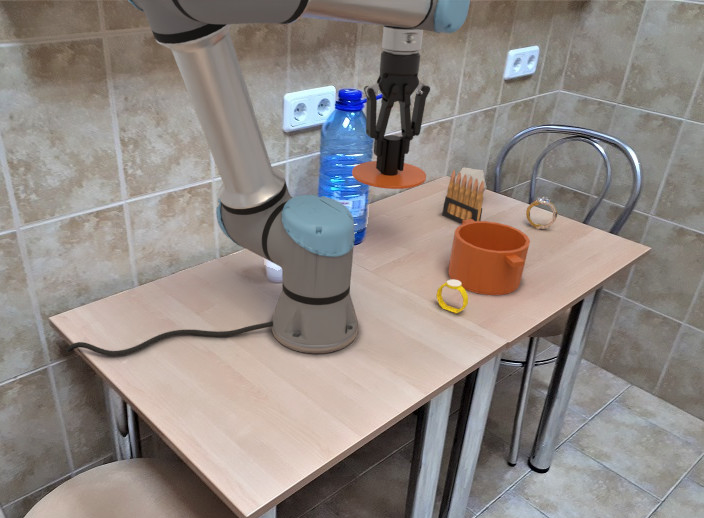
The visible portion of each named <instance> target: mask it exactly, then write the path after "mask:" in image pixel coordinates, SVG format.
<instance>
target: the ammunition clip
mask: <svg viewBox="0 0 704 518" xmlns="http://www.w3.org/2000/svg"><path fill="white" fill-rule="evenodd" d="M457 175H458V176H457ZM457 175H456V170H455V169H453V170H452V172H451V174H450V177H449V178H450V179H449V184H448V187H447V191H446V196H444V197H445V198H444V202H443V208H442V213H441V215H442V216H443V217H445V218H448V219H450V220H452V221H455V222H457V223H459V224H460V225H462V220H468V219H473V220H474V221H482V213H483V201H484V192H485V191H484V181H482V182H481V184H480V186H479V190H478V179H476V180H475V182H474V185H473V189H472V176H471V177H470V178H469V181H468V184H467V176H466V174H465V175H464V177H463V179H462V183H461V173H460V171H459V172H458V173H457ZM456 176H457V179H456V183H455V178H456ZM466 184H467V188H466ZM460 185H461V188H460ZM477 191H478V194H477ZM483 191H484V192H483Z"/></svg>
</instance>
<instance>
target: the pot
mask: <svg viewBox="0 0 704 518" xmlns="http://www.w3.org/2000/svg"><path fill="white" fill-rule="evenodd" d="M530 244H531V240H530V238H529V236H528V235H527V234H526V233H524V232H523V231H522V230H520V229H518V228H516V227H513V226H511V225H508V224H505V223H500V222H496V221H487V220H481V221H474V220H473V219H468V220H462V224H460V225H458V226H457V227H456V228H455V230H454V235H453V239H452V246H451V252H450V259H449V264H448V268H447V269H448V270H447V271H448V278H449V280H451V279H454V280H458V281H460V282H461V283H462V284H461V286H462V287H463V288H464V289H465V290H466V291H469V292H472V293H476V294H480V295H486V296H503V295H508V294H511V293H513V292H515V291H516V290H518V288H519V287H520V284H521V281H522V277H523V273H524V268H525V264H526V260H527V256H528V251H529V248H530Z"/></svg>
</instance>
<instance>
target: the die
mask: <svg viewBox="0 0 704 518" xmlns="http://www.w3.org/2000/svg"><path fill="white" fill-rule="evenodd" d="M459 172H460V173H461V183H462V179H463V177H464V175H465V174H466V176H467V184H468V181H469V178H470V177H471V176H472V189H473V185H474V182H475V180H476V179H478V190H479V186H480V184H481V182H482V181H484V191H483V193H485V191H486V190H487V183H486V179H485V173H484V170H482V169H478V168H477V169H476V168H470V167H464V166H463V167H462V168H461V170H460V171H459ZM457 176H458V174H457V175H455V183H456V179H457ZM467 184H466V188H467ZM460 188H461V185H460ZM477 194H478V191H477Z"/></svg>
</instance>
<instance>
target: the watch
mask: <svg viewBox="0 0 704 518" xmlns="http://www.w3.org/2000/svg"><path fill="white" fill-rule="evenodd" d="M461 284H462V283H461V282H460V281H458V280H454V279H448V280H446V282H444V283H443V284H440V286H439V287H438V288H437V291H436V300H437V303H438V305H439V306H440V308H441V309H443V310H445V311H449V312H450V313H454V314H458V313H460V312H462V311H464V310H465V309H466V308H467V306H468V304H469V295H468V292H467V290H466V289H464V288H463V287H462V286H461ZM444 287H447V288H448V289H451V290H457V291H458V292H459V293H460V295H461V297H462V306H461V307H460V308H457V307H453V306H451V305H448V304H447V303H446V302H445V301H444V298H443V288H444Z"/></svg>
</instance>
